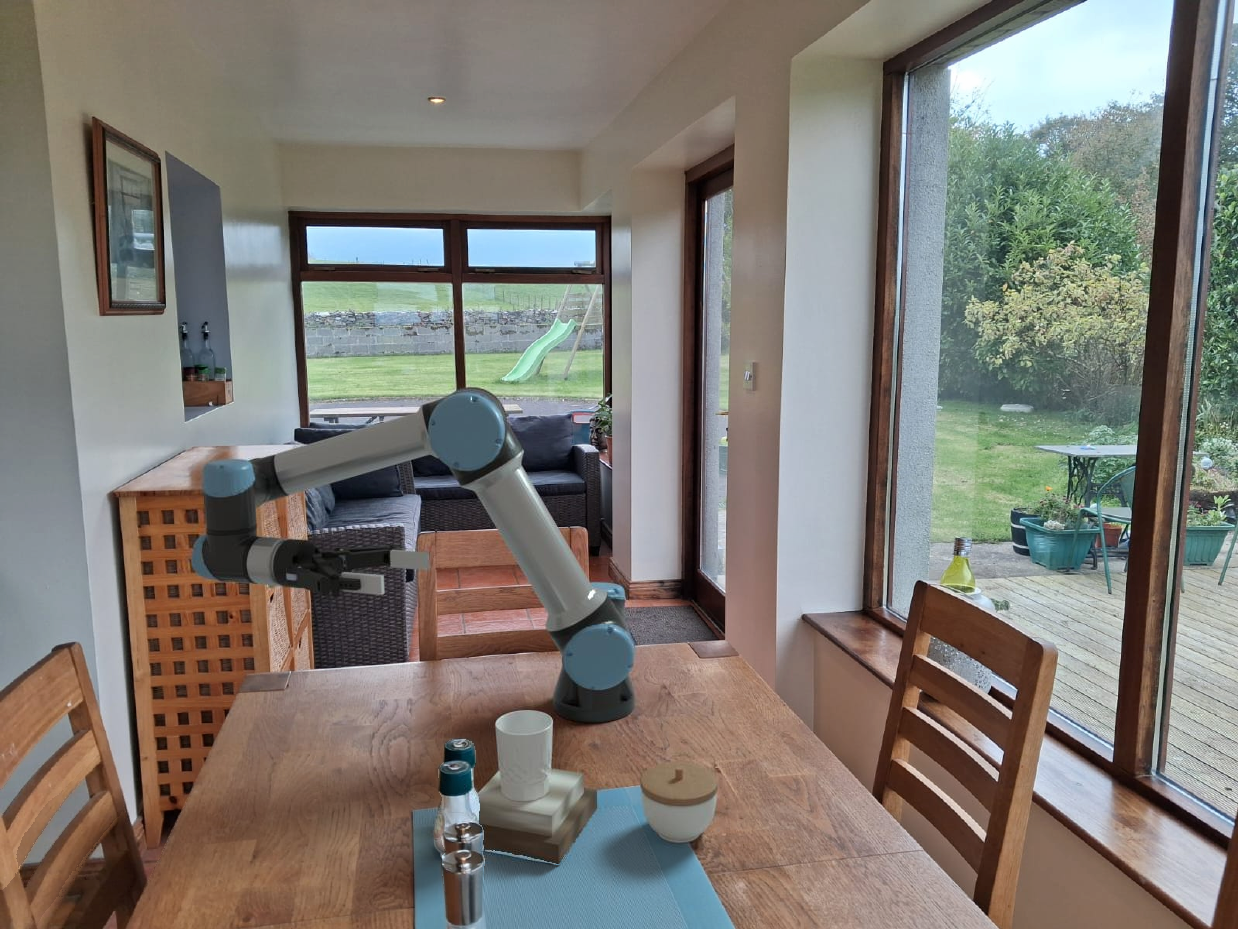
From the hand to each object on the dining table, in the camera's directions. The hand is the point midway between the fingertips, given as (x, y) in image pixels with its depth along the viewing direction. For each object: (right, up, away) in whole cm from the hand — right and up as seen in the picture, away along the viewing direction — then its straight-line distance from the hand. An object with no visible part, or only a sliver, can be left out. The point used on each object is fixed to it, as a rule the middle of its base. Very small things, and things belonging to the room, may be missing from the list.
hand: (406, 572), depth 138 cm
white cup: (+19, -29, -10) cm, 36 cm away
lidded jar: (+40, -35, -10) cm, 54 cm away
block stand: (+19, -35, -9) cm, 41 cm away
